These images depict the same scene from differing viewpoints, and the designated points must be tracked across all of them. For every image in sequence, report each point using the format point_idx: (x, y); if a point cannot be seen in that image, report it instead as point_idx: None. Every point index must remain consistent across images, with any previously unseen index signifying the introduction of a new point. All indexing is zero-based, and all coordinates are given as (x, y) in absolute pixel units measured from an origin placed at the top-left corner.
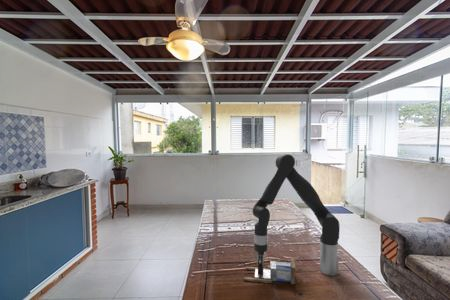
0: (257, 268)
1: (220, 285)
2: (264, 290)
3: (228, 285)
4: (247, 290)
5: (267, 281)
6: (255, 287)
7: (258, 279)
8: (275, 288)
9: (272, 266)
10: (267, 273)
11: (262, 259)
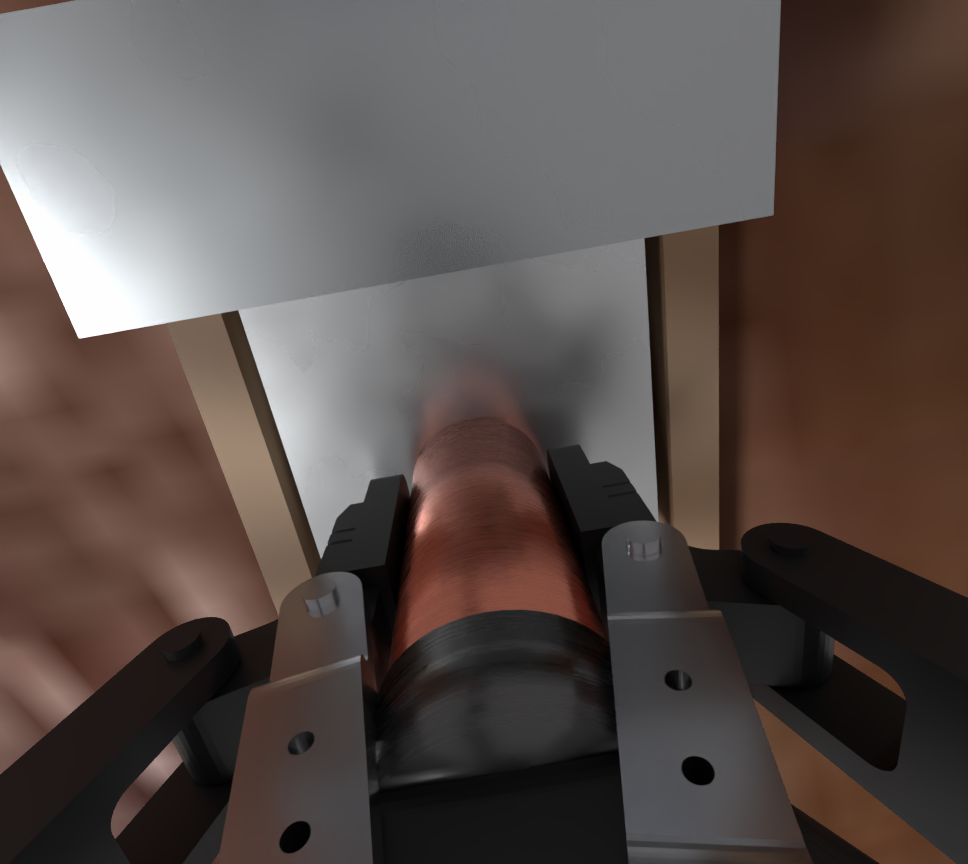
0: (299, 573)
1: (860, 850)
2: (962, 275)
3: (853, 785)
4: (962, 549)
5: (706, 267)
6: (875, 454)
7: (707, 464)
8: (884, 30)
9: (583, 139)
10: (436, 325)
11: (722, 797)
